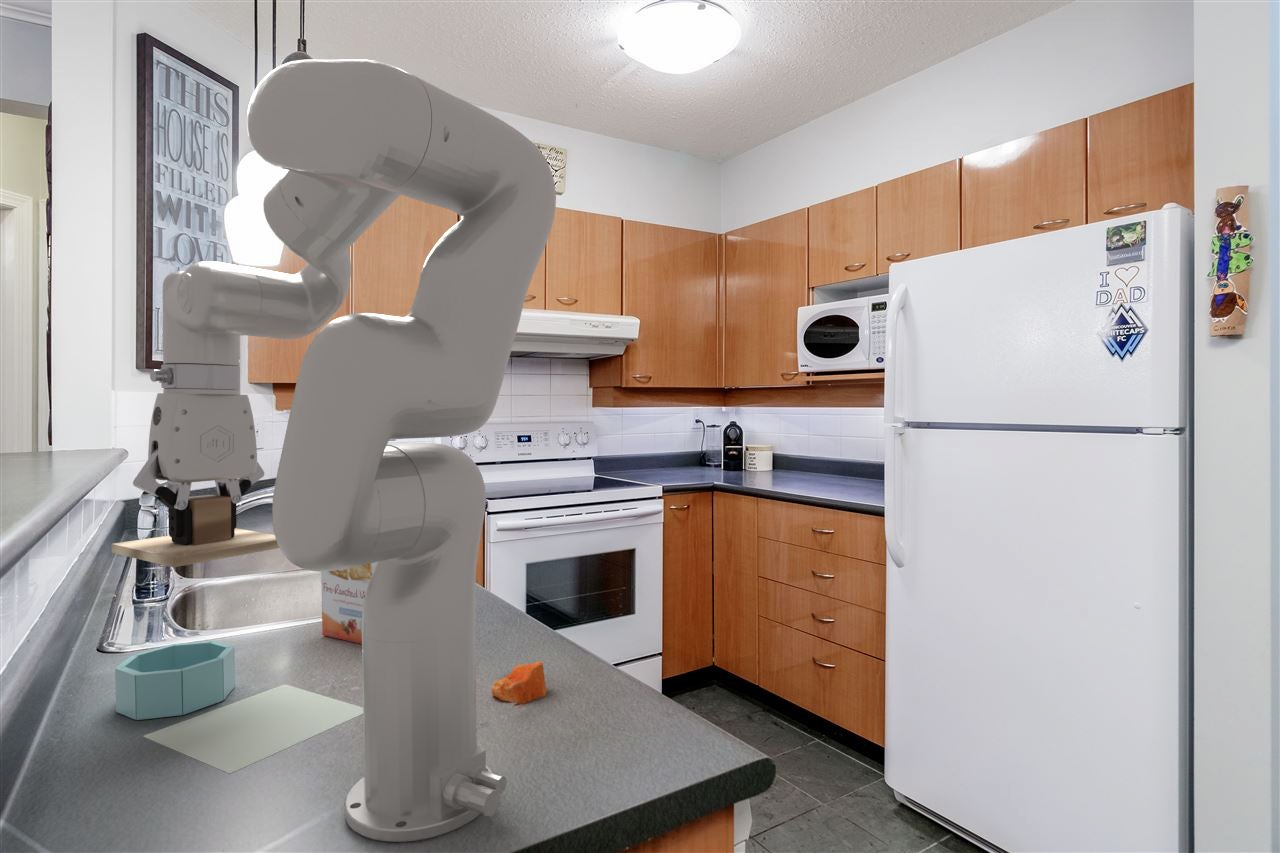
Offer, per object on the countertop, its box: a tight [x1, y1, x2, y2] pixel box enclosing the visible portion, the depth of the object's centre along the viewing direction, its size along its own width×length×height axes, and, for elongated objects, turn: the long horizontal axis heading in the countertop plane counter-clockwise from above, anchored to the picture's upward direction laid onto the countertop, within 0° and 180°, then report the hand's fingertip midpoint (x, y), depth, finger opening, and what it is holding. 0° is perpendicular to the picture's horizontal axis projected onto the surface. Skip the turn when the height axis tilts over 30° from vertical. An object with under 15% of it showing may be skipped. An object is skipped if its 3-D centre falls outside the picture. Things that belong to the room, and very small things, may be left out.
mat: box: [142, 683, 363, 775], centre depth 76 cm, size 16×16×1 cm
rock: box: [490, 660, 548, 707], centre depth 84 cm, size 12×12×4 cm
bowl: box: [114, 640, 236, 721], centre depth 83 cm, size 11×11×6 cm
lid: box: [111, 494, 280, 568], centre depth 80 cm, size 13×13×6 cm
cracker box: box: [320, 562, 378, 645], centre depth 106 cm, size 14×6×21 cm, turn 62°
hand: (203, 538), depth 80 cm, fingers closed on lid, 4 cm apart
